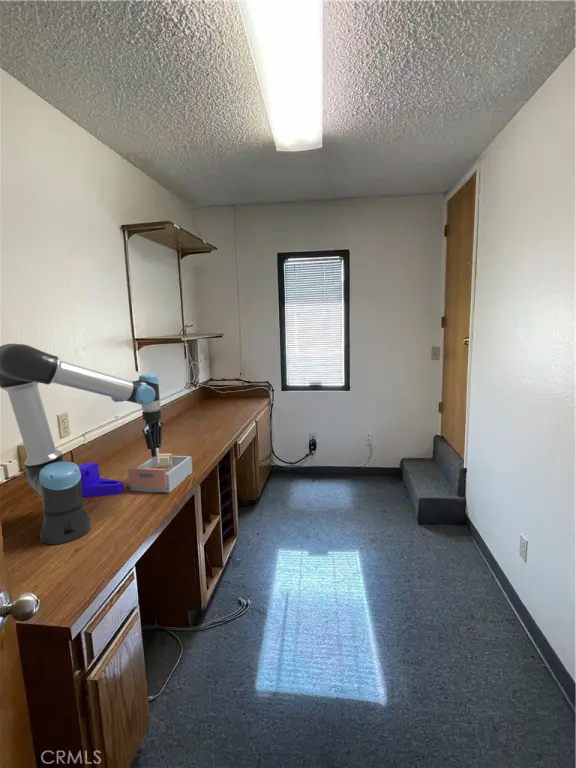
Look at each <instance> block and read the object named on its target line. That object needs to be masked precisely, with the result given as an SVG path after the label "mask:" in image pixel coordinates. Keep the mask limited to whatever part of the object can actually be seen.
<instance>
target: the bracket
mask: <svg viewBox="0 0 576 768" xmlns="http://www.w3.org/2000/svg"><path fill="white" fill-rule="evenodd" d="M78 467H79V470H80V473H81V486H82V496H83V498H86V499H87V498H95V497H104V496H113V495H121V494H124V492H125V487H124V481H121V480H116V479H109V478H103V477H101V476H100V468H99V467H100V466H99V464H98V462H85V463H83V464H81V465H78Z"/></svg>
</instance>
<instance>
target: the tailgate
mask: <svg viewBox="0 0 576 768" xmlns="http://www.w3.org/2000/svg"><path fill="white" fill-rule="evenodd" d="M127 470H128V481H129V482H128V484H129V485H130V487H146V488H165V489H166V488H167V479H166V469H152V468H137V467H129V468H128V469H127ZM130 487H129V488H130Z"/></svg>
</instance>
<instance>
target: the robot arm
mask: <svg viewBox="0 0 576 768" xmlns="http://www.w3.org/2000/svg"><path fill="white" fill-rule="evenodd" d="M159 383H160V382H159V377H158V375H157V374H156V373H147V374H146V373H145V374H140V375H139V376H138V379H137V380H128V379H125V378H121V377H117V376H115V375H111V374H108V373H104V372H101V371H97V370H94V369H90V368H87V367H83V366H80V365H76V364H73V363H69V362H67V361H63V360H61V359H60V357H59V356H57V355H53V354H51V353H48V352H46V351H43V350H40V349H38V348H35V347H33V346H30V345H28V344H23V343H7V344H3V345H0V389H1V390H4V391H6V392H7V394H8V398H9V402H10V404H11V408H12V410H13V414H14V416H15V420H16V423H17V426H18V430H19V433H20V437H21V439H22V443H23V446H24V448H25V452H26V456H27V458H26V459H25V460H24V462H23V463H24V467H25V470H26V473H25V478H26V481H27V483H28V485H29V486H30V488H31V489H33V490H35V491H36V493H38V495H40V496H41V501H42V510H43V519H42V522H41V528H40V530H39V537H40V541H41V542H42V543H43V544H48V545H57V544H58V545H59V544H65V543H68V542H69V543H70V542H71V541H74V540H77V539H79V538H81V537H84V535H86V534H88V533H89V532H90V530H91V529H92V520H91V518H90V517H89V515H88V513H87V511H86V509H85V506H84V497H83V496H82V486H81V473H80V470H79V465H78V464H77V463H75V462H72V461H65V458H64V455H63V452H62V451H61V450H60V449H57V448H56V445H55V442H54V438H53V434H52V431H51V429H50V428H51V427H50V424H49V422H48V419H47V415H46V411H45V408H44V404H43V400H42V397H41V393H40V391H39V386H38V385H39V384H43V385H51V384H57V385H61V386H65V387H68V388H74V389H78V390H82V391H86V392H88V393H89V392H90V393H94V394H98V395H101V396H105V397H109V398H111V400H112V401H113V402H114V403H122V402H130V403H133V404H138V405H141V411H142V420H143V421H145V428H143V429H142V433H143V435H144V440H145V444H146V447H147V448H146V449H147V450H150V453H151V454H150V455H151V458H152V463H157V464H158V463H159V462H160V460H159V454H160V451H159V450H160V449H161V447H162V446H161V445H162V436H163V435H162V434H163V433H162V430H163V422H160V419H161V418H162V411H161V399H160V387H159V385H160V384H159ZM159 448H160V449H159Z"/></svg>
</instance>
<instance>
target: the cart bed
mask: <svg viewBox="0 0 576 768" xmlns="http://www.w3.org/2000/svg"><path fill="white" fill-rule="evenodd" d="M172 463H173V468H172V469H171V471H169V472H166V479H167V488H166V489H165V488H146V487H130V484H128V485H127V488H130V491H133V492H134V491H135V492H152V493H171V492H172V491H174V489H175V488H176V487H178V486H179V485H180V484H181V483H182V482H183V481H184V480H186V479H187V478H188V477H189V476H190V475H191V474H193V465H192V464H193V461H192V456H189V455H188V456H187V455H186V456H185V455H172ZM136 468H152V469H156V466H155V463H152V457H151V458H150V459H149V460H146V461H145V462H144V463H142V464H140V465H139V466H137V467H136ZM188 475H189V476H188ZM187 476H188V477H187ZM186 477H187V478H186ZM185 478H186V479H185Z"/></svg>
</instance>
